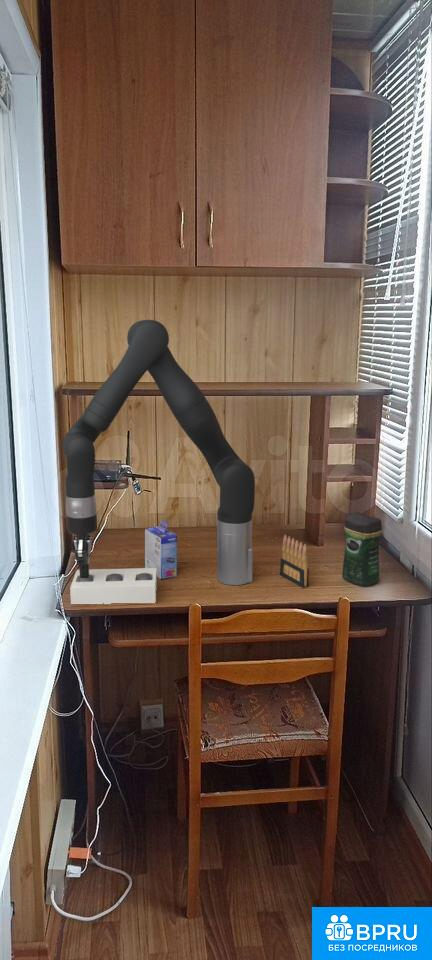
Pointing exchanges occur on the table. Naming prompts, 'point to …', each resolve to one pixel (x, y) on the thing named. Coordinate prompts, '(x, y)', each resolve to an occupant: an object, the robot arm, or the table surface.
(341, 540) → the table surface
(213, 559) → the table surface
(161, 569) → the ink cartridge box
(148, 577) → the knob
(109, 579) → the knob middle
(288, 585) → the table surface
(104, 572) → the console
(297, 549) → the ammunition clip
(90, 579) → the knob
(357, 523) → the coffee jar
